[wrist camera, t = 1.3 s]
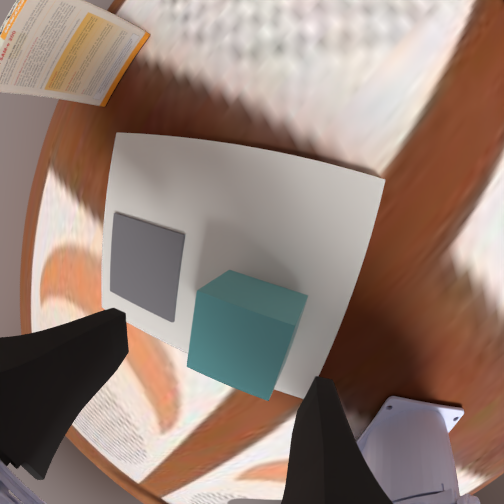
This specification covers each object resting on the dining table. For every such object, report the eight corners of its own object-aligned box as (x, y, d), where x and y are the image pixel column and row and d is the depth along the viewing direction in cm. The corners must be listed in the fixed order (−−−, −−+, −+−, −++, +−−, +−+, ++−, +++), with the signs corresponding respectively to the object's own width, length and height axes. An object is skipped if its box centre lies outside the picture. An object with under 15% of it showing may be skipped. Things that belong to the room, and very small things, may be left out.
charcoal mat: (174, 321, 21) (172, 322, 21) (112, 289, 23) (109, 290, 22) (185, 234, 19) (183, 235, 19) (116, 212, 21) (113, 212, 20)
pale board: (309, 392, 19) (307, 399, 18) (108, 303, 25) (101, 307, 24) (383, 180, 15) (385, 179, 14) (124, 133, 20) (116, 132, 19)
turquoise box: (285, 362, 17) (268, 400, 14) (216, 336, 19) (186, 366, 15) (308, 295, 16) (295, 325, 12) (229, 269, 17) (196, 290, 13)
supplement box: (127, 25, 18) (26, -17, 6) (153, 35, 18) (38, -19, 6) (84, 93, 21) (-23, 76, 9) (104, 110, 21) (-20, 92, 9)
